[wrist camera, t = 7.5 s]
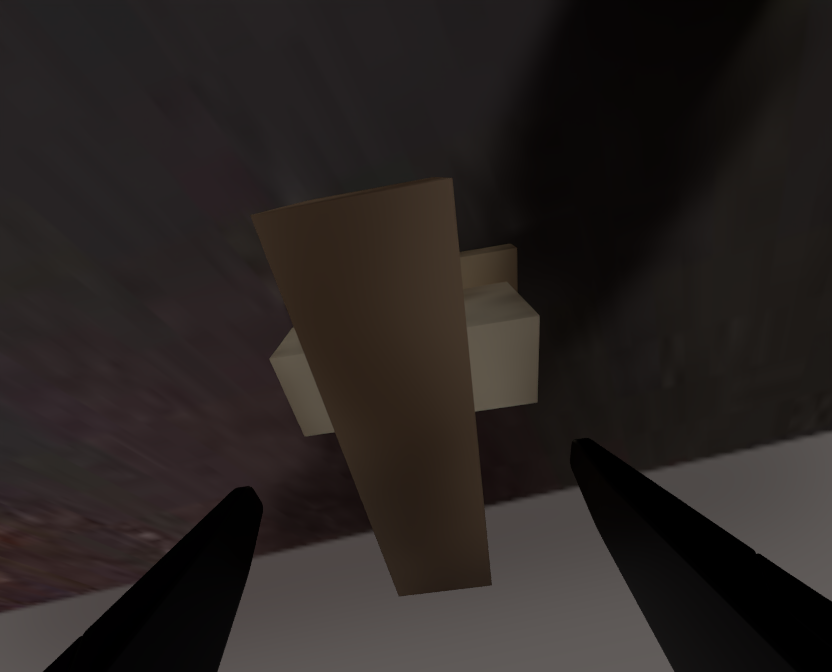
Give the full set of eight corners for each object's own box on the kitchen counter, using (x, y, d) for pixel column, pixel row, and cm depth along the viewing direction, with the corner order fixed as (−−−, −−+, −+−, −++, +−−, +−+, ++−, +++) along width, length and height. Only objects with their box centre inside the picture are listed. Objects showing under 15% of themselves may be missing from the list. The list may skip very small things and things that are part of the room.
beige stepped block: (510, 243, 15) (555, 272, 10) (512, 364, 18) (548, 427, 13) (287, 281, 15) (239, 325, 11) (329, 393, 18) (304, 461, 14)
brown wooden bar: (433, 177, 9) (452, 177, 5) (471, 490, 15) (492, 585, 12) (311, 199, 9) (250, 215, 5) (400, 499, 15) (398, 596, 12)
